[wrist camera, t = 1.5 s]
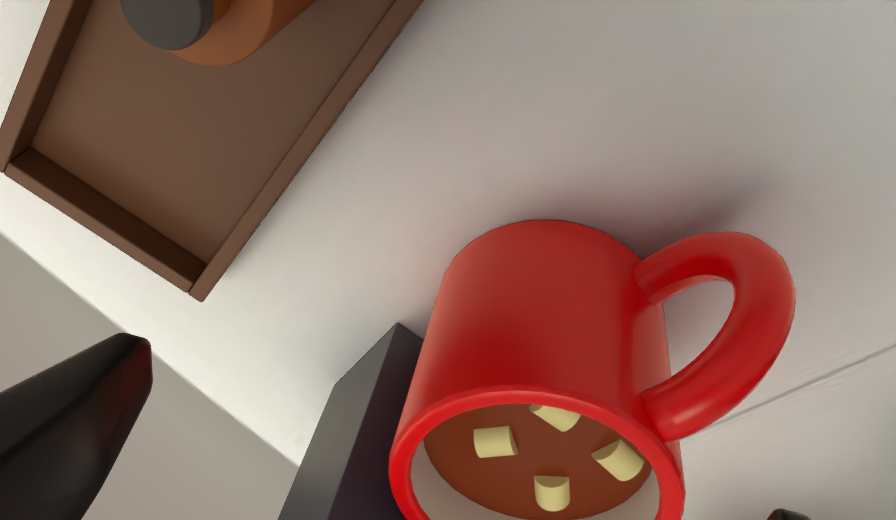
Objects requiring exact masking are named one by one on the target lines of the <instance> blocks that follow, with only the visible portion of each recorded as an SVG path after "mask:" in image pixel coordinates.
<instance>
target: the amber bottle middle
mask: <svg viewBox="0 0 896 520" xmlns="http://www.w3.org/2000/svg"><path fill="white" fill-rule="evenodd" d="M315 1H316V0H120V4H121V8H122V11H123V13H124V16H125V18H126V20H127V21H128V23H129V25H130V26H131V27H132V29H133V30H134V31H135V32H136V33H137V34H138V35H139V36H140V37H141V38H142V39H143V40H145V41H146V42H148V43H149V44H151V45H153V46H155V47H158V48H161V49H165V50H167V51H168V52H170V53H171V54H173V55H175V56H177V57H179V58H181V59H183V60H185V61H188V62H190V63H194V64H198V65H202V66H210V67H222V66H229V65H233V64H236V63H239V62H241V61H243V60H245V59H247V58H248V57H250V56H251V55H252V54H254V53H255V52H256V51H257V50H259V49H260V48H261V47H262V46H263V45H264V44H266V43H267V42H268V41H269V40H270V39H272V38H273V37H274V36H275V35H276V34H277V33H279V32H280V31H281V30H282V29H283V28H285V27H286V26H287V25H288V24H289V23H290V22H292V21H293V20H294V19H295V18H296V17H298V16H299V15H300V14H301V13H302V12H303V11H305V10H306V9H307V8H308V7H309V6H310V5H312V4H313V3H314V2H315Z"/></svg>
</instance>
